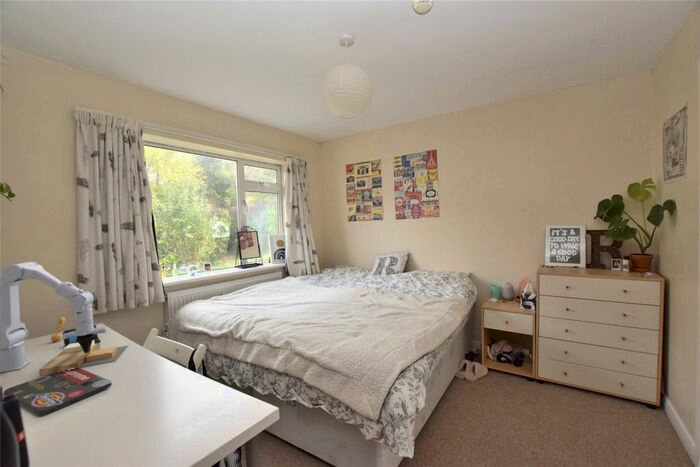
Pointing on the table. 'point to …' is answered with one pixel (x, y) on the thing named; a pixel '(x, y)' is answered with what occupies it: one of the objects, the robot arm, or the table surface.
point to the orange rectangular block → (101, 354)
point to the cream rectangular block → (74, 347)
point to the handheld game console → (73, 340)
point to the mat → (105, 360)
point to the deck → (66, 361)
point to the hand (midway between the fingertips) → (87, 352)
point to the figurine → (58, 336)
